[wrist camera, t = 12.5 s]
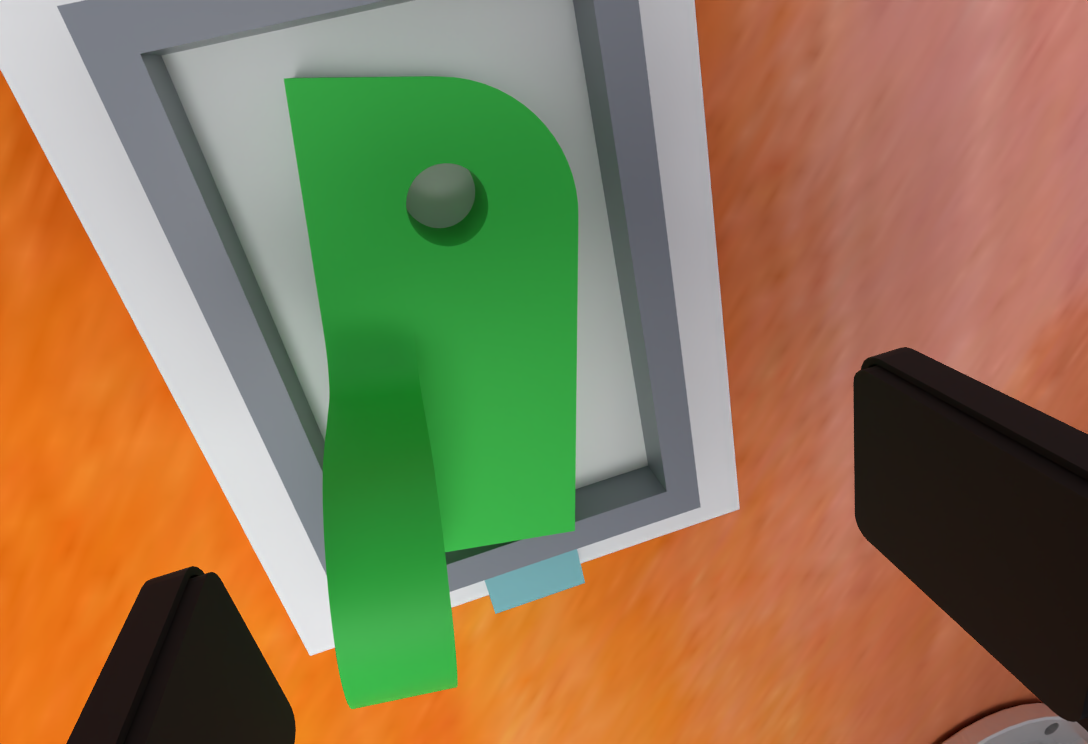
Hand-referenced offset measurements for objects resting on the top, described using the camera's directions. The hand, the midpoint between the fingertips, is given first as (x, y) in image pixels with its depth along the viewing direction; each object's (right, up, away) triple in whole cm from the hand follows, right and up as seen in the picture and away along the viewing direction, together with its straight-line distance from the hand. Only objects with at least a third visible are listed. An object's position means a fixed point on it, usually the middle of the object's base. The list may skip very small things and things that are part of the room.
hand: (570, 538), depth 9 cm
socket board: (-3, +5, +9) cm, 11 cm away
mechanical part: (-3, +4, +8) cm, 10 cm away
